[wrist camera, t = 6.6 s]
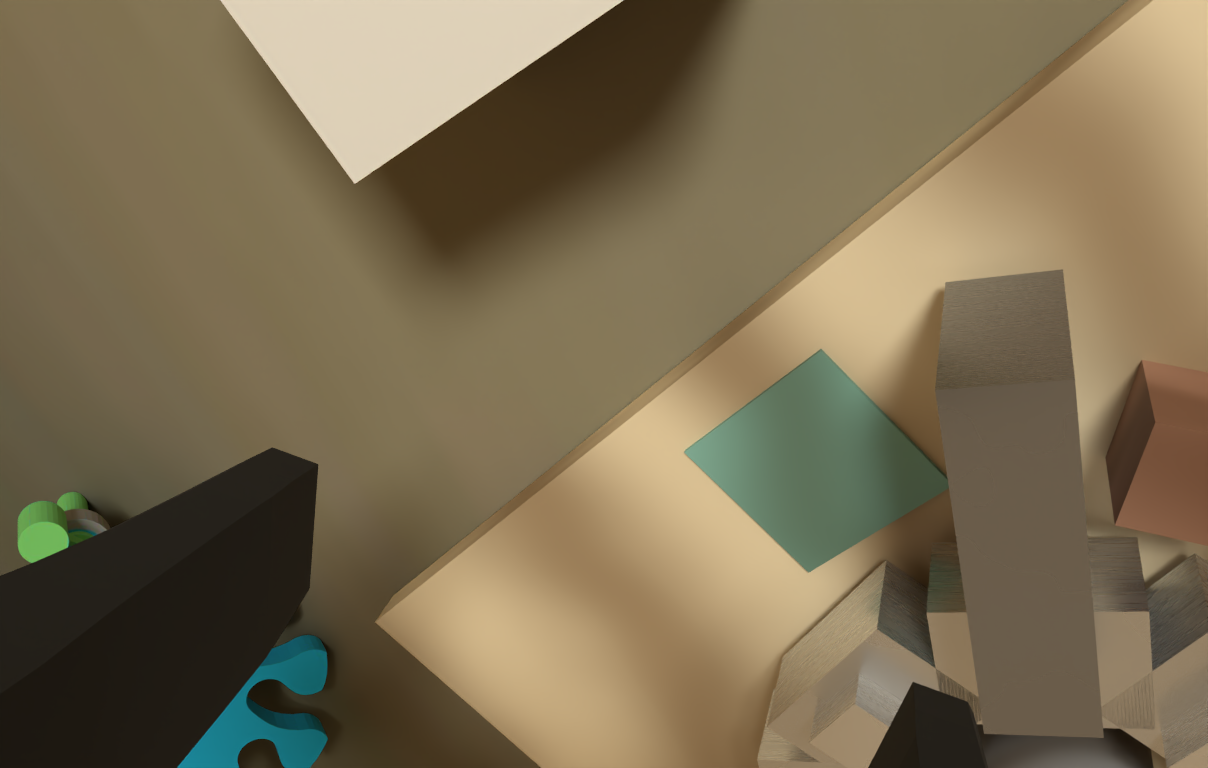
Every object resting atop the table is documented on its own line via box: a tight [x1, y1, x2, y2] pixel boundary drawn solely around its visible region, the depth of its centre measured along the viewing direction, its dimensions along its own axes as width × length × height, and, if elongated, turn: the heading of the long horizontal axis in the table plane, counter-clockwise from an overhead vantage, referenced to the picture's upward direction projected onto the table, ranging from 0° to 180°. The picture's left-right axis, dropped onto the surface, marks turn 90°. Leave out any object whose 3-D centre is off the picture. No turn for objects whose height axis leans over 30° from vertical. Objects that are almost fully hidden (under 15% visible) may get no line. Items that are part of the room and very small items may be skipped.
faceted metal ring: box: [757, 269, 1208, 768], centre depth 20 cm, size 16×11×4 cm
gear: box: [18, 492, 328, 768], centre depth 30 cm, size 11×6×10 cm
